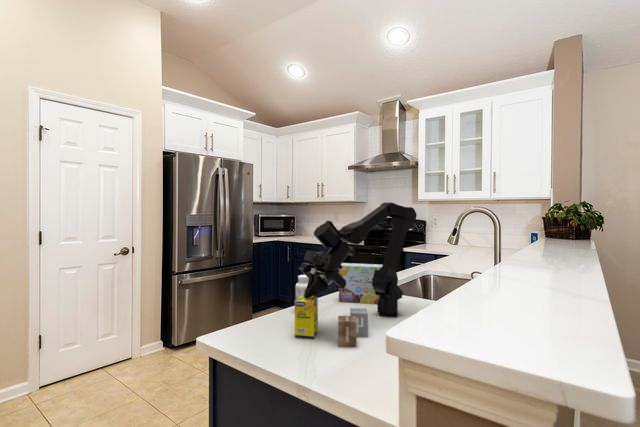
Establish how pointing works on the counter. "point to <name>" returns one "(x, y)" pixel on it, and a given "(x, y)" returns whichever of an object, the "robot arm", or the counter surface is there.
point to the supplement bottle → (301, 286)
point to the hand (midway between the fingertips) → (305, 297)
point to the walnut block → (346, 331)
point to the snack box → (358, 283)
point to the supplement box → (306, 317)
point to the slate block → (360, 321)
